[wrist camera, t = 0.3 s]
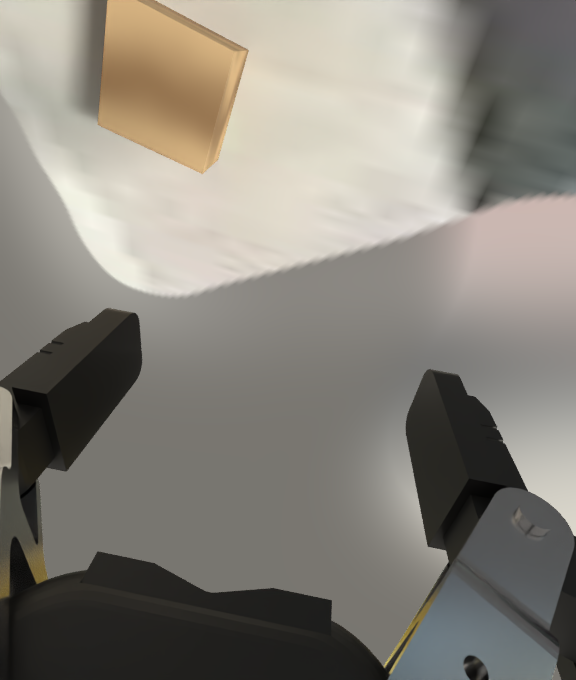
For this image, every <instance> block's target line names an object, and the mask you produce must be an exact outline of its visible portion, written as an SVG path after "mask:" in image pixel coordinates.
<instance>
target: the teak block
mask: <svg viewBox="0 0 576 680" xmlns="http://www.w3.org/2000/svg"><path fill="white" fill-rule="evenodd" d="M247 54H248V50H247V49H245V48H243V47H241V46H240V45H238V44H236V43H234V42H232V41H230V40H228V39H226V38H224V37H223V36H221V35H219V34H217V33H215V32H213V31H211V30H209V29H208V28H206V27H204V26H202V25H200V24H198V23H196V22H194V21H192V20H191V19H189V18H187V17H185V16H183V15H181V14H179V13H177V12H175V11H174V10H172V9H170V8H168V7H166V6H164V5H162V4H160V3H158V2H157V1H155V0H108V1H107V13H106V26H105V39H104V51H103V64H102V77H101V89H100V102H99V114H98V125H99V126H101V127H103V128H106V129H108V130H110V131H112V132H114V133H116V134H118V135H121V136H123V137H125V138H127V139H129V140H131V141H133V142H135V143H138V144H140V145H142V146H144V147H146V148H148V149H150V150H152V151H155V152H157V153H159V154H161V155H163V156H165V157H167V158H170V159H172V160H174V161H176V162H178V163H180V164H182V165H184V166H187V167H189V168H191V169H193V170H195V171H197V172H199V173H202V174H203V173H204V172H205V171H206V170H207V169H208V168H209V167H211V166H212V165H213V164H214V163H215V162H216V161H217V160H218V158H219V154H220V151H221V147H222V143H223V140H224V136H225V133H226V129H227V126H228V122H229V118H230V115H231V111H232V108H233V104H234V100H235V97H236V93H237V90H238V86H239V83H240V79H241V75H242V72H243V68H244V65H245V61H246V58H247Z"/></svg>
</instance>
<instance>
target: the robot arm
mask: <svg viewBox="0 0 576 680" xmlns="http://www.w3.org/2000/svg"><path fill="white" fill-rule="evenodd" d="M141 366H142V351H141V338H140V325H139V318H138V316H137V314H136V313H132V312H127V311H121V310H116V309H111V308H107V309H105V310H103V311H102V312H101V313H100V314H99V315H97V316H96V317H95V318H94V319H92V320H91V321H90V322H89V323H88V322H83V323H81V324H78V325H76V326H74V327H72V328H69V329H67V330H65V331H64V332H62V333H61V334H60V335H58V336H57V337H56V338H55V339H53V340H52V343H48V344H47V345H46V346H45V347H43V348H42V349H41V350H40V352H39V353H38V352H37V353H36V354H34V355H33V356H32V357H31V358H29V359H28V360H27V361H25V362H24V363H23V364H22V365H20V366H19V367H18V368H17V369H15V370H14V371H13V372H12V373H10V374H9V375H8V376H6V377H5V378H4V379H3V380H1V381H0V680H552V679H553V675H554V671H555V667H556V665H557V668H558V671H559V674H560V677H561V680H576V536H574V535H573V533H572V531H571V529H570V527H569V525H568V523H567V522H566V521H565V519H564V518H563V517H562V516H561V514H560V513H559V512H558V511H557V510H556V509H555V508H554V507H552V506H551V505H550V504H549V503H547V502H546V501H545V500H543V499H542V498H540V497H538V496H536V495H535V494H532V493H531V492H528V490H527V488H526V486H525V484H524V482H523V480H522V478H521V476H520V474H519V471H518V469H517V467H516V465H515V463H514V461H513V459H512V457H511V455H510V453H509V451H508V449H507V447H506V445H505V444H504V443H503V438H502V437H501V434H500V432H499V431H498V430H497V426H496V424H495V422H494V420H493V418H492V416H491V414H490V412H489V411H488V410H487V409H486V407H485V406H484V405H483V404H482V403H480V401H479V400H478V399H477V398H476V397H474V396H469V395H467V393H466V390H465V388H464V386H463V383H462V381H461V379H460V377H459V376H458V375H457V374H452V373H447V372H442V371H436V370H431V369H429V370H427V371H426V372H425V374H424V376H423V378H422V380H421V383H420V385H419V388H418V390H417V392H416V395H415V397H414V400H413V402H412V405H411V407H410V409H409V412H408V415H407V420H406V436H407V442H408V447H409V452H410V457H411V462H412V467H413V473H414V478H415V483H416V488H417V493H418V498H419V504H420V508H421V514H422V519H423V524H424V529H425V535H426V540H427V545H428V547H433V548H437V549H442V550H446V551H447V556H448V560H449V562H448V564H447V565H446V567H445V568H444V570H443V572H442V573H441V575H440V576H439V578H438V579H437V581H436V583H435V584H434V586H433V588H432V589H431V591H430V593H429V594H428V596H427V597H426V599H425V601H424V602H423V604H422V606H421V608H420V609H419V611H418V612H417V614H416V615H415V617H414V619H413V620H412V622H411V624H410V625H409V627H408V629H407V630H406V632H405V633H404V635H403V636H402V638H401V640H400V641H399V643H398V644H397V646H396V647H395V649H394V650H393V652H392V653H391V655H390V657H389V658H388V660H387V661H386V663H385V665H384V666H382V664H381V663H380V662H379V660H378V659H377V658H376V657H375V656H374V655H373V654H372V652H371V651H370V650H369V649H368V648H367V647H366V646H365V645H364V644H363V643H362V642H361V641H360V640H359V639H357V638H356V637H355V636H354V635H353V634H352V633H350V632H349V631H347V630H346V629H345V628H343V627H342V626H340V625H339V624H337V623H335V622H333V621H331V608H332V606H331V605H332V601H331V600H327V599H322V598H318V597H313V596H308V595H303V594H299V593H294V592H289V591H284V590H279V589H274V588H270V589H257V590H245V591H232V592H219V593H210V592H206V591H204V590H202V589H200V588H198V587H196V586H194V585H193V584H191V583H189V582H187V581H185V580H184V579H182V578H180V577H178V576H176V575H175V574H173V573H171V572H169V571H167V570H165V569H164V568H162V567H160V566H158V565H156V564H155V563H150V562H146V561H141V560H136V559H131V558H127V557H122V556H117V555H112V554H108V553H103V552H97V554H96V555H95V557H94V559H93V561H92V563H91V564H90V566H89V568H88V570H84V571H78V572H72V573H67V574H64V575H60V576H57V577H54V578H51V579H48V576H47V571H46V567H45V561H44V553H43V533H42V517H41V516H42V514H41V495H40V483H39V480H38V477H39V476H40V475H41V474H42V472H43V471H44V470H45V469H46V468H51V469H56V470H61V471H67V470H68V469H69V467H70V466H71V465H72V463H73V462H74V461H75V460H76V458H77V457H78V456H79V454H80V453H81V452H82V451H83V449H84V448H85V447H86V445H87V444H88V443H89V441H90V440H91V439H92V438H93V436H94V435H95V433H96V432H97V431H98V430H99V428H100V427H101V426H102V424H103V423H104V422H105V421H106V419H107V418H108V417H109V415H110V414H111V413H112V411H113V410H114V409H115V407H116V406H117V405H118V404H119V402H120V401H121V400H122V398H123V397H124V396H125V394H126V393H127V392H128V390H129V389H130V388H131V387H132V385H133V384H134V383H135V381H136V380H137V378H138V376H139V374H140V371H141Z"/></svg>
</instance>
